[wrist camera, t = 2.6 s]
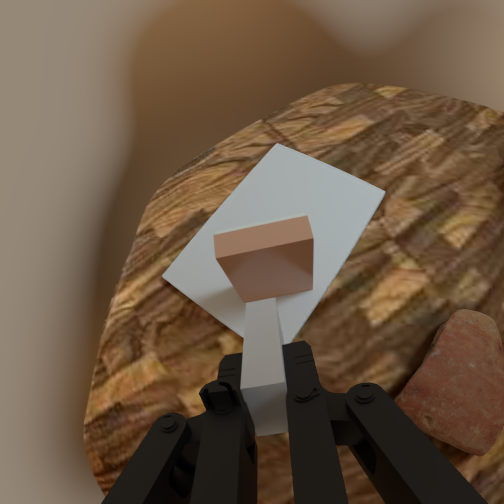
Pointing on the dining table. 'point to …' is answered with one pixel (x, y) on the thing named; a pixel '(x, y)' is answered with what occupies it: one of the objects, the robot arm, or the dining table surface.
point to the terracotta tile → (267, 257)
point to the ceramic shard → (460, 384)
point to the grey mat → (272, 207)
